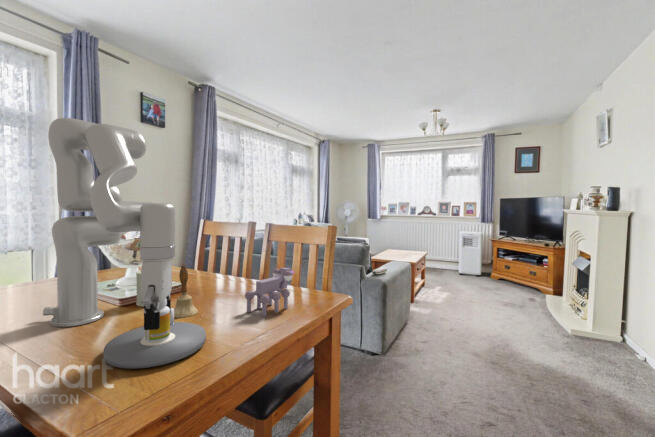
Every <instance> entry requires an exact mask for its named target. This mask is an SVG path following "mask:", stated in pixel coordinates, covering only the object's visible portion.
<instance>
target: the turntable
mask: <svg viewBox="0 0 655 437" xmlns="http://www.w3.org/2000/svg"><path fill="white" fill-rule="evenodd" d="M174 308H175V307H174ZM174 308H173V307H171V313H170V336H169V337H168V338H167V339H165V340H163V341H160V342H148V341H146V339H145V330H144V326H141V327H137V328H134V329H131V330H128V331H125V332H123V333H121V334H119V335H117V336H115V337H113V338H112V339H110V340H109V341H108V342H107V343H106V344H105V346H104V348H103V360H104V361H105V363H106V364H108V365H109V366H112V367H114V368H115V367H116V368H119V369H144V368H145V369H146V368H151V367H154V368H155V367H157V366H162V365H163V366H164V365H167V364H170V363H174V362H176V361H179V360H181V359H184V358H186V357H188V356H191V355H192V354H194V353H196V352H197V351H198V350H200V349H201V348H202V347H203V346H204V345H205V343H206V339H207V338H206V337H207V332H206V330H205V328H204V327H203V326H201V325H199V324H196V323H193V322H183V321H182V322H181V321H175V318H174Z"/></svg>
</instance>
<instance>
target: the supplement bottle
mask: <svg viewBox="0 0 655 437" xmlns="http://www.w3.org/2000/svg"><path fill="white" fill-rule="evenodd" d="M152 304H154V306H155V305H156V303H152ZM166 305H167V299H166V298H165V299H164V300H163V301H161V302H160V304H159V309H158V312H160V328H159V329H155V330H145V339H146V341H148V342H160V341H163V340H165V339H167V338H168V337H169V336H170V309H169V307H167V306H166Z"/></svg>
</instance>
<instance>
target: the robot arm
mask: <svg viewBox="0 0 655 437" xmlns="http://www.w3.org/2000/svg"><path fill="white" fill-rule="evenodd" d="M48 128H49V129H48V134H47V135H48V137H47V138H48V143H49V147H50V150H51V153H52V156H53V158H54V161H55V167H56V192H57V202H58V205H59V207H60V209H62V210H64V211H66V212H74V213H75V212H78V213H79V212H80V213H81V212H83V213H87V212H88V213H89V212H92V213H94V215H91V216H90V215H79V216H78V215H75V216H73V215H72V216H65V217H63V218H59V219H58V220H55V222H54V223H53V225H52V228H51V236H52V240H53V244H54V247H55V257H56V275H57V276H56V283H57V284H56V285H57V286H56V289H57V291H56V292H57V294H56V295H57V300H56V301H57V305H56V306H55V307H54V306H49V307H44V308H43V310H42V315H43V316H52V318H51V319H50V325H51V326H53V327H57V328H58V327H59V328H60V327H61V328H69V327H77V326H81V325H85V324H89V323H93V322H95V321H98V320H100V319H101V318H103V317H104V315H105V312H104V310H102V309H100V308H99V306H98V305H99V303H98V300H99V297H98V291H99V290H98V260H97V257H96V256H95V255H94V254H93V253H92V252H91V251H90V250H89V249H88V248H92V247H99V246H100V247H101V246H109V245H115V244H117V243H119V241H120V240H121V239H122V235H123V233H128V232H130V233H131V232H139V233H140V234H139V241H140V242H139V245H140V246H139V247H140V248H139V251H140V253H139V254H140V256H139V257H140V258H139V260H140V261H142V264H141V269H140V270H141V279H140V302H141V303H144V307H142V308H143V327H144V330H155V329H159V328H160V312H158V309H159V304H160V302H161V301H163V300H164V299H165V298H166V299H167V305H166V306H167V307H169V309H170V313H171V308H172V306H171V305H172V303H171V302H172V299H171V292H172V289H173V288H172V287H173V268H172V260H174V259H176V209H175V207H174V205H173V204H171V203H164V202H163V203H161V202H151V201H150V202H149V201H123V200H122V195H121V194H122V193H121V192H120V189H119V188H118V186H119V185H123V184H125V183H127V182H129V181H132V179H134V178H135V176H136V175H137V172H138V168H137V166H136V163H135V161H134V160H139V159H141V158H142V157H143V156H144V155H145V153H146V150H147V144H146V140H145V138H144V137H143V135H142V134H141V133H139V131H137V130H134V129H129V128H125V127H121V126H117V125H112V124H107V123H96V122H92V121H88V120H84V119H83V120H82V119H78V118H71V117H60V118H55V119H54V120H52V122H51V123H50V125H49V127H48ZM81 150H82V151H89V152H90V154H91V156H92V159H93V161H94V164H95V165H96V167H97V170H98V173H99V175H98V176H97V178H96V179H95V180H94V167H93V164H92V163H91V161H90V160H89V158H88V157H87V156H86V155H85V154H84V153H83V152H82V151H81ZM152 303H156V305H155V306H154V304H152Z"/></svg>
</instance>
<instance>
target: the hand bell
mask: <svg viewBox="0 0 655 437" xmlns="http://www.w3.org/2000/svg"><path fill="white" fill-rule="evenodd" d="M178 277H179V281H180V285H181V287H180V288H181V290H180V291H181V295H180V296H178V297H177V298H176V304H175V306H174V319H176V318H177V319H183V318H189V317H190V318H191V317H192V316H195V315H197V314H198V312H199V310H198V309H197V308H196V307H195V306H194V304H193V299H192V298H193V297H192V295H189V294H188V287H187V284H188V280H189V271H188V268H187V266H186V265H185V264H184V265H183V264H182V265H181V267H180V270H179V276H178Z"/></svg>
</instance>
